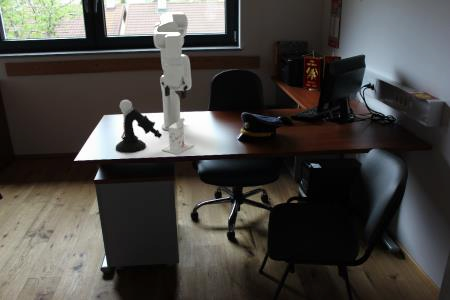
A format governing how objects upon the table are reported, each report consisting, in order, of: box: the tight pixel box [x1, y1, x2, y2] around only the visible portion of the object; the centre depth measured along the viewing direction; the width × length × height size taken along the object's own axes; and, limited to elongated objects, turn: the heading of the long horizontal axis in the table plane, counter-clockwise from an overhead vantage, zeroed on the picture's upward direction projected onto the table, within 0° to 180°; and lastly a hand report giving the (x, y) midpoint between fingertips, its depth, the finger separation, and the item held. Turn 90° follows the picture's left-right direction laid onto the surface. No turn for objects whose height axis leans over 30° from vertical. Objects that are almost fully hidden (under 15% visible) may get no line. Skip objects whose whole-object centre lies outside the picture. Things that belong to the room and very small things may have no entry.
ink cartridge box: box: [168, 117, 185, 150], centre depth 209 cm, size 9×5×15 cm, turn 163°
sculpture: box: [115, 99, 163, 154], centre depth 209 cm, size 15×24×25 cm, turn 94°
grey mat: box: [161, 143, 194, 155], centre depth 211 cm, size 13×10×1 cm
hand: (175, 97), depth 202 cm, fingers open, 9 cm apart
